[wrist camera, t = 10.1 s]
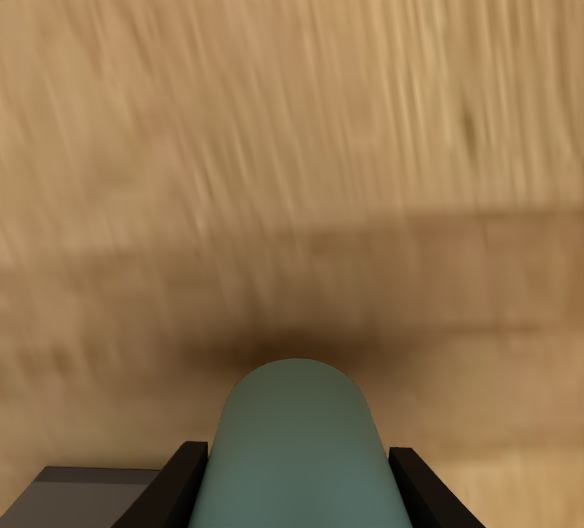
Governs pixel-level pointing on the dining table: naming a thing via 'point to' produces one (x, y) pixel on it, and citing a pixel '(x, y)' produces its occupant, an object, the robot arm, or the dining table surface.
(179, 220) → the dining table surface
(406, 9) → the dining table surface
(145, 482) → the tote
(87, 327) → the dining table surface
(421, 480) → the robot arm
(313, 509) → the teal cylinder
